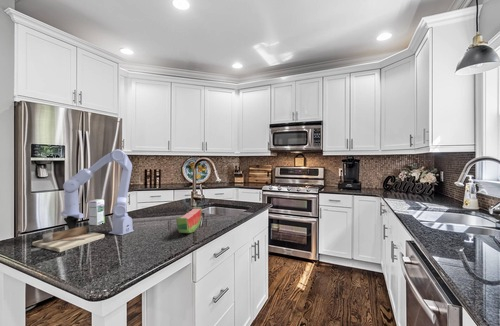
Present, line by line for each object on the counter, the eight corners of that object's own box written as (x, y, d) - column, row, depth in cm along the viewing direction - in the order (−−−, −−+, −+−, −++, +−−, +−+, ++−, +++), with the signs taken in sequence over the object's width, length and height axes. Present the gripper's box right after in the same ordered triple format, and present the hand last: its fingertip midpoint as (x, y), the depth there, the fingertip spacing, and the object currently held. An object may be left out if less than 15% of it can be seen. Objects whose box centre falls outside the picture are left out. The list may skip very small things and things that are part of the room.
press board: (104, 237, 119) (104, 234, 119) (59, 252, 100) (59, 248, 100) (78, 232, 127) (78, 229, 127) (32, 245, 108) (32, 241, 108)
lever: (44, 242, 106) (44, 235, 106) (41, 241, 108) (41, 234, 108) (91, 232, 121) (91, 225, 121) (88, 230, 123) (88, 224, 123)
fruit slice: (192, 223, 144) (192, 207, 144) (202, 223, 143) (202, 207, 143) (175, 238, 118) (175, 218, 118) (187, 238, 117) (187, 218, 117)
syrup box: (97, 225, 140) (97, 200, 139) (88, 224, 141) (88, 200, 141) (105, 222, 145) (104, 199, 145) (96, 222, 146) (96, 198, 146)
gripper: (53, 204, 116) (54, 231, 117) (72, 206, 111) (72, 235, 111) (69, 201, 123) (69, 227, 123) (87, 204, 117) (88, 231, 118)
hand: (72, 231), depth 118 cm, fingers closed, pressing on lever
